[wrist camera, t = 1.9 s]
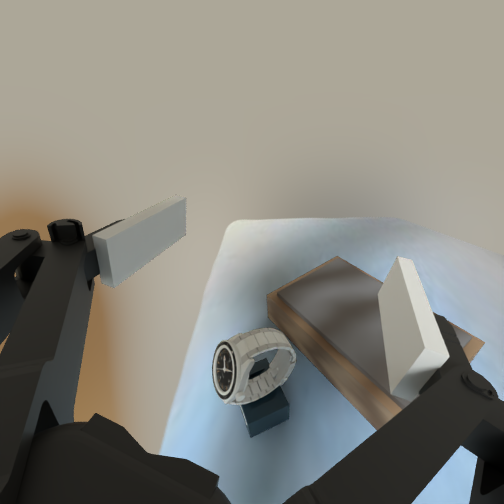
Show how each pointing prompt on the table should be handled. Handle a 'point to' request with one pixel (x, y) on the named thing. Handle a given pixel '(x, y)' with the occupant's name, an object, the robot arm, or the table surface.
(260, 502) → the table surface
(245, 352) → the watch
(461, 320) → the table surface
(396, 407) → the riser
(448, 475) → the table surface
